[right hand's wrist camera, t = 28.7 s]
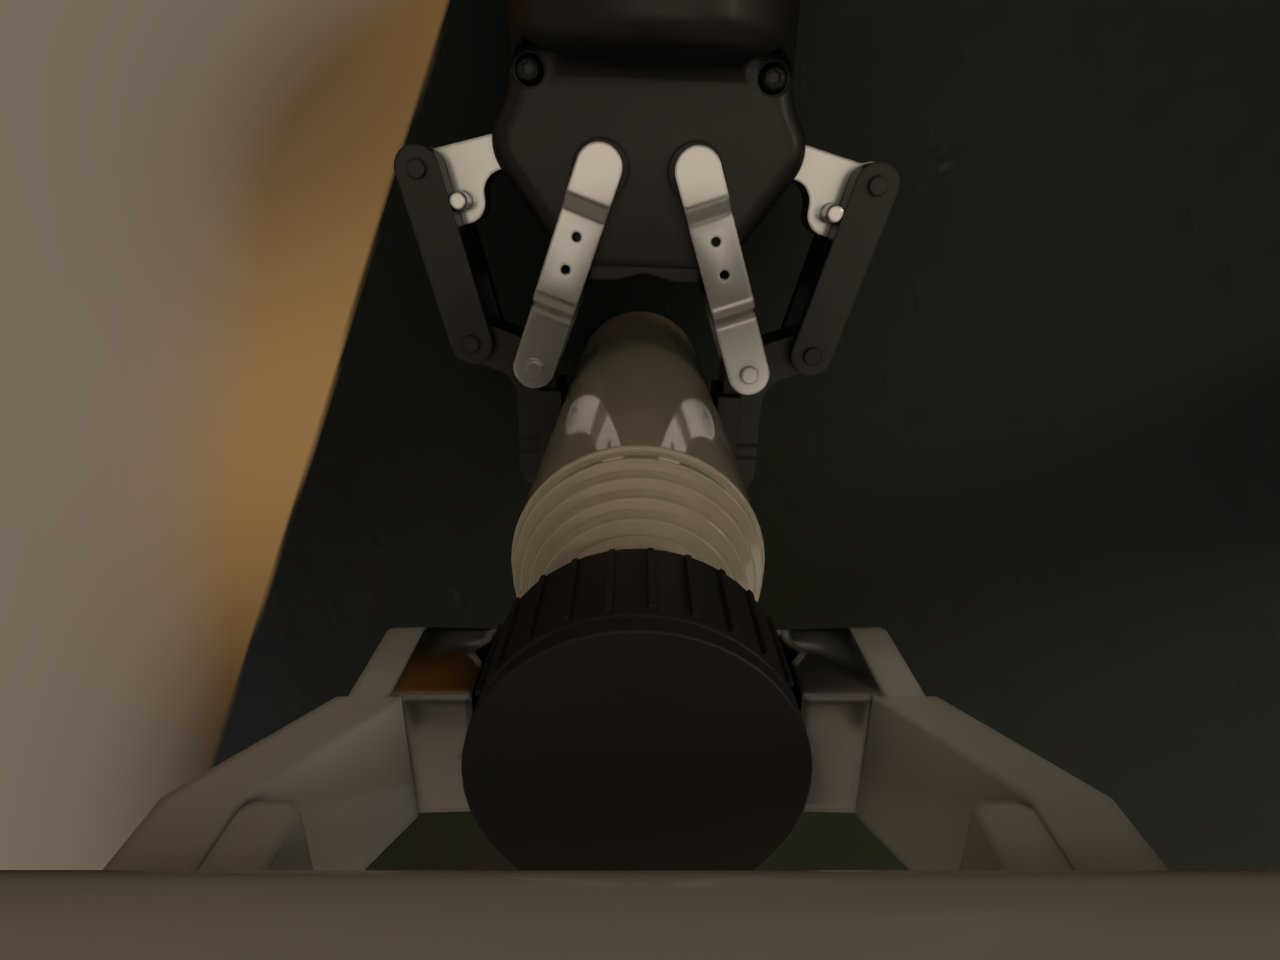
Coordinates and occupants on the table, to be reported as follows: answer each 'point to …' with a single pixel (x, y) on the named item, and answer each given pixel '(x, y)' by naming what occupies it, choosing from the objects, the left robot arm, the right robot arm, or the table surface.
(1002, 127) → the table surface
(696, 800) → the cap
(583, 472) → the bottle
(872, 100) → the table surface
